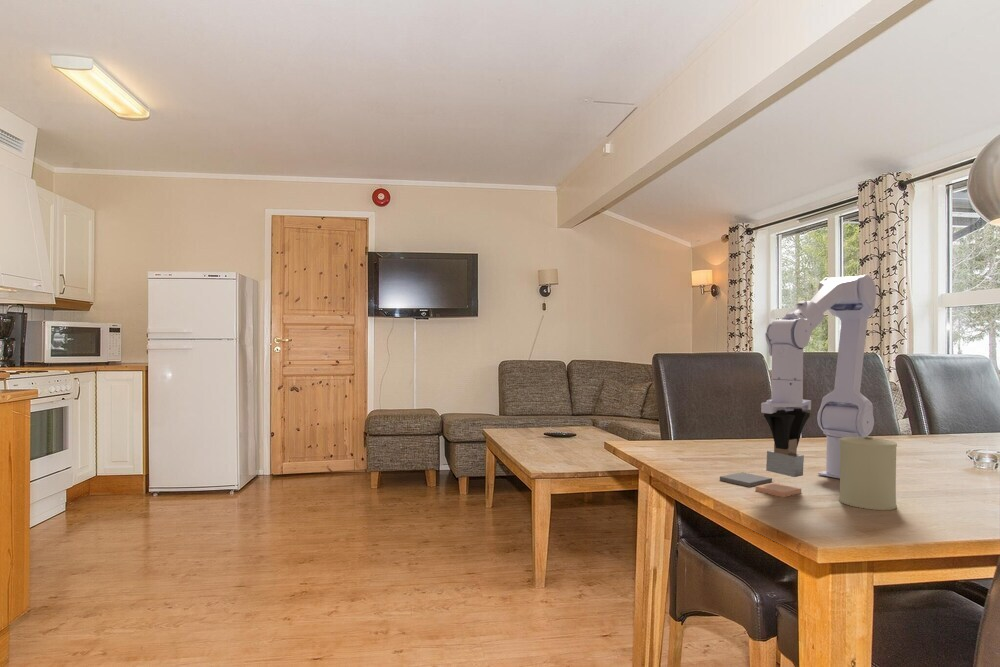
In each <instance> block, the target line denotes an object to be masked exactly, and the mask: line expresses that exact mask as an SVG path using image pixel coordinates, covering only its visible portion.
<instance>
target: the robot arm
mask: <svg viewBox="0 0 1000 667" xmlns="http://www.w3.org/2000/svg"><path fill="white" fill-rule="evenodd" d="M817 290H818V291H817V292H816V293H815V294H814V295H813V296H812V297H811V299H810V300H799V301H798V302H796V305H795V307H794V308H792V309H791V310H790V311H788V312H787V313H786V314H785V315H784V316H782V319H774V320H773V321H771V322H770V323H769V324H768V325H767V327H766V332H765V334H764V335H765V336H764V337H765V341H766V343H767V346H768V353H769V356H771V383H770V384H771V389H770V390H771V396H770V397H771V398H770V399H767V400H766V401H764V402H761V404H760V405H761V406H760V408H761V409H760V411H761V414H763V417H764V419H765V420H766V422H767V424H768V426H769V428H770V431H771V433H772V434H771V435H772V438H773V442H774V443H775V447H776V448H779V449H787V448H788V444H789V437H790V438H796V439H797V447H798V446H799V443H800V438H801V435H802V432H803V429H804V426H805V424H806V423H807V421H808V420H809V418H810V416H811V415H810V412H809V411H808V410H812V400H811V399H804V349H805V348H806V347H807V346H808V345H809V342H810V339H811V336H812V335H813V331H814V330H815V329H816V328H817V327H818V326H819V325H820V324H821V323H822V322H823V320H824V317H825V316H824V313H825V312H827V311H829V313H830V314H831V315H832V316H834V317H836V318H838V319H839V320H840V322H841V324H840V332H839V339H838V340H839V341H838V342H839V343H838V351H837V358H836V360H837V361H836V368H835V369H836V370H835V378H834V379H835V380H834V389H833V390H832V391H830V392H828V393H827V394H826V395H824V396H823V397H822V399H821V402H820V407H819V410H818V411H817V416H816V418H817V425H818V427H819V428H820V430H821V431H822V432H823V435H825V436H826V450H825V451H826V458H825V459H826V460H825V464H826V470H823V471H819V472H817V475H819V476H824V477H828V478H835V479H839V480H840V438H843V437H869V435H870V434H871V433H872V431H873V429H874V425H875V418H874V411H873V409H874V408H873V407H874V406H873V405H874V404H873V403H872V402H871V400H869V399H868V398H867V397H866V396H865V395H863V393H861V385H862V377H863V376H862V375H863V365H864V356H865V346H866V337H867V327H868V320H869V319H868V318H869V317H871V316H872V315H874V313H875V307H876V299H877V287H876V284H875V281H874V279H873V278H872V277H871V275H869V274H863V275H854V276H853V275H851V276H839V277H836V276H835V277H829V276H827V277H824V278H823V279H822V280H821V281H819V283H818V288H817ZM803 410H806V411H803Z"/></svg>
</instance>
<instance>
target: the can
mask: <svg viewBox="0 0 1000 667" xmlns="http://www.w3.org/2000/svg"><path fill="white" fill-rule="evenodd" d="M897 446H898V444H897V442H895V441H893V440H890V439H889V440H888V439H883V438H877V437H876V438H874V437H872V436H867V437H843V438H840V479H839V496H838V501H839V502H840V503H841V502H842V504H843V503H844V505H846V506H849V505H850V506H849V507H853V508H858V507H859V509H863V508H864V509H865V510H871V509H873V511H891V510H895V509H897V507H898V505H897V495H896V494H897V493H896V492H897V484H896V482H897V480H896V478H897V477H896V476H897Z"/></svg>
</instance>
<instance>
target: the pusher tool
mask: <svg viewBox="0 0 1000 667" xmlns="http://www.w3.org/2000/svg"><path fill="white" fill-rule="evenodd" d="M773 446H774V447H773V449H772V450H767V451H766V467H765V468H766V469H765V471H766V472H770V473H775V474H779V475H784V476H788V477H791V478H798V477H801V476H804V457H805V455H804V454H800V453H798V451H797V450H798V446H797V439H796V438H790V437H789V444H788V448H787V449H779V448H776V447H775V443H774V444H773Z"/></svg>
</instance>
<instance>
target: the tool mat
mask: <svg viewBox="0 0 1000 667" xmlns="http://www.w3.org/2000/svg"><path fill="white" fill-rule="evenodd" d="M719 481H723V482H726V483H729V484H730V483H731V484H734V485H738V486H739V485H740V486H743V487H749V488H751V487H756V486H759V485H764V484H768V483H773V478H772V477H767V476H764V475H763V476H761V475H757V474H753V473H749V472H748V473H747V472H743V471H741V472H737V473H731V474H725V475H720V476H719Z"/></svg>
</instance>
